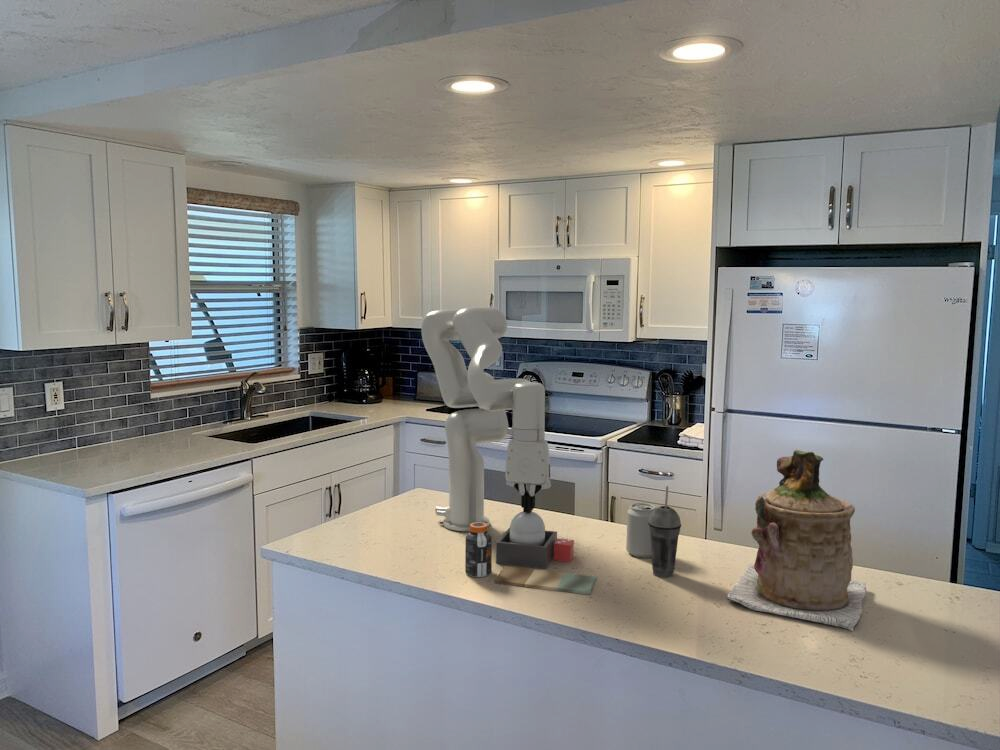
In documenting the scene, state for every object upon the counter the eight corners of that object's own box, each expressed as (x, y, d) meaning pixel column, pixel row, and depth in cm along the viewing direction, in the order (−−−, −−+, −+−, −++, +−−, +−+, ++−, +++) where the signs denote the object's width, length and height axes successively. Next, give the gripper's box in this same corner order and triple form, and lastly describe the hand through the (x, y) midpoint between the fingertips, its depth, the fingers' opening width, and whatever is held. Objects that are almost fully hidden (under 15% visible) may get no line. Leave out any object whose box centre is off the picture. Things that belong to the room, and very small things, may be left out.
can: (648, 561, 174) (650, 511, 173) (620, 554, 179) (621, 506, 177) (662, 552, 180) (663, 504, 179) (634, 546, 185) (636, 499, 183)
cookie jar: (868, 590, 158) (877, 444, 154) (857, 635, 137) (868, 467, 133) (749, 568, 170) (755, 432, 167) (723, 606, 149) (729, 451, 146)
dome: (505, 549, 173) (505, 515, 172) (515, 538, 181) (515, 505, 180) (540, 553, 171) (540, 518, 170) (548, 541, 179) (548, 508, 178)
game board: (493, 582, 160) (493, 580, 160) (505, 568, 169) (505, 565, 169) (589, 594, 154) (589, 591, 154) (596, 578, 163) (596, 576, 163)
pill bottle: (491, 578, 163) (491, 528, 162) (464, 577, 163) (464, 528, 162) (491, 568, 169) (491, 520, 168) (465, 567, 169) (466, 520, 168)
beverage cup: (642, 576, 165) (645, 489, 163) (651, 565, 171) (654, 481, 169) (674, 582, 161) (677, 493, 159) (683, 571, 168) (686, 485, 166)
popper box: (495, 563, 172) (496, 542, 172) (509, 546, 184) (510, 526, 183) (565, 571, 168) (565, 549, 167) (575, 553, 179) (575, 533, 178)
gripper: (493, 436, 171) (493, 512, 173) (556, 439, 167) (555, 518, 169) (502, 430, 179) (502, 504, 180) (563, 433, 174) (562, 509, 176)
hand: (528, 510), depth 175 cm, fingers closed
